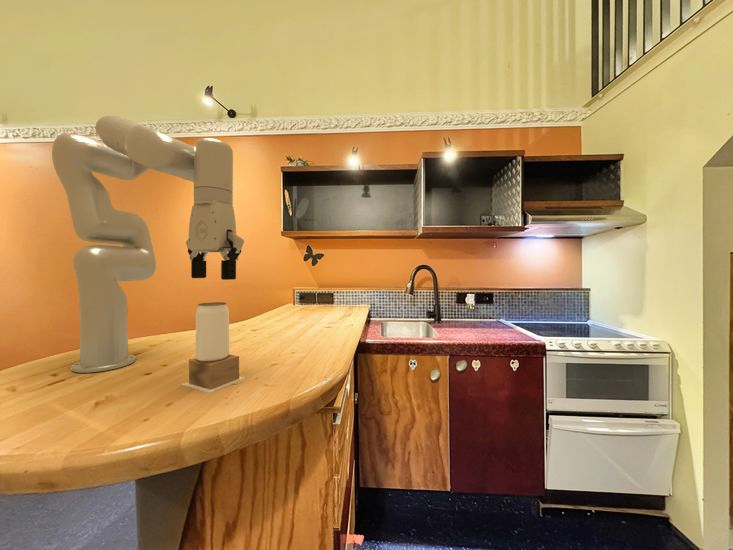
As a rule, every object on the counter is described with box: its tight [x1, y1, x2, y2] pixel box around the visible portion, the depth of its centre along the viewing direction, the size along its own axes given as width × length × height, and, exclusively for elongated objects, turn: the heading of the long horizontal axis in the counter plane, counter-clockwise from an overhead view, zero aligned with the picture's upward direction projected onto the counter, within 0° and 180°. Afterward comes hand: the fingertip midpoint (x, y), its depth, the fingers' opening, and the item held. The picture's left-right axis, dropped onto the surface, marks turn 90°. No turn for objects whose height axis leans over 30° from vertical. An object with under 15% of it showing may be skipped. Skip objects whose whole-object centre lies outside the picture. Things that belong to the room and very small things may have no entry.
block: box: [188, 353, 240, 390], centre depth 65 cm, size 7×7×5 cm
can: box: [195, 301, 230, 362], centre depth 65 cm, size 6×6×12 cm
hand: (213, 278), depth 65 cm, fingers open, 9 cm apart
